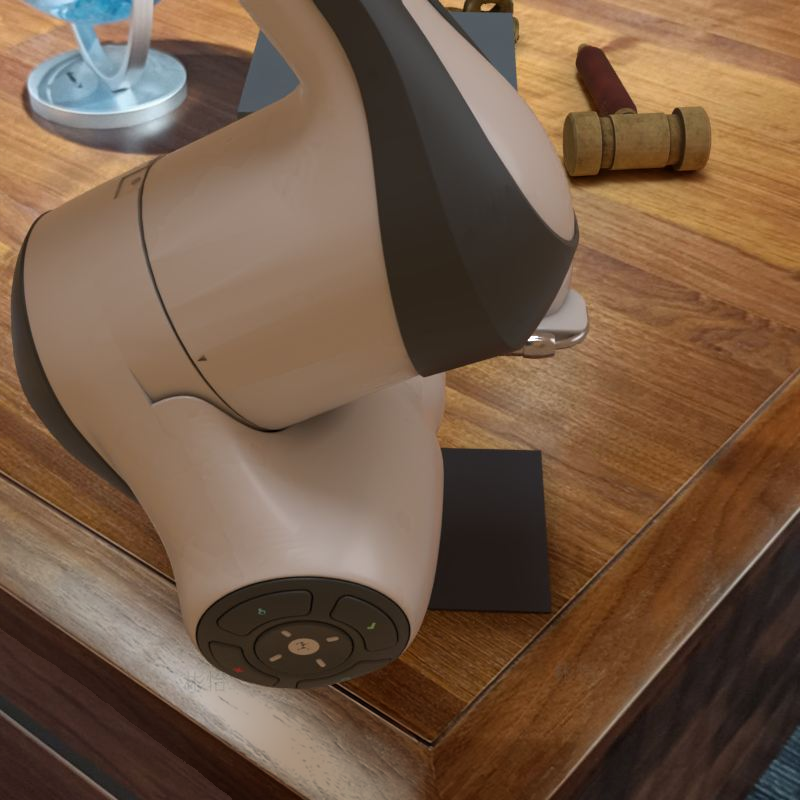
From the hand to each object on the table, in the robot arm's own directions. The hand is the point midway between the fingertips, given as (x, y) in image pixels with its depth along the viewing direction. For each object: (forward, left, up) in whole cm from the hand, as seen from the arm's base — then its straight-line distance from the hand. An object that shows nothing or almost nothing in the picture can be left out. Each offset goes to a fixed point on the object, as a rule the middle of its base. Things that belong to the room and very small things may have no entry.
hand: (359, 178), depth 66 cm
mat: (+1, -7, -17) cm, 18 cm away
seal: (+3, +52, -17) cm, 55 cm away
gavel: (+17, +39, -17) cm, 46 cm away
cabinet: (0, +25, -17) cm, 30 cm away
